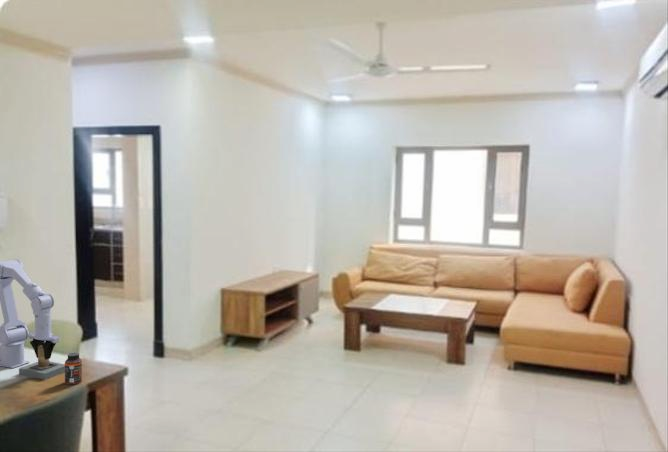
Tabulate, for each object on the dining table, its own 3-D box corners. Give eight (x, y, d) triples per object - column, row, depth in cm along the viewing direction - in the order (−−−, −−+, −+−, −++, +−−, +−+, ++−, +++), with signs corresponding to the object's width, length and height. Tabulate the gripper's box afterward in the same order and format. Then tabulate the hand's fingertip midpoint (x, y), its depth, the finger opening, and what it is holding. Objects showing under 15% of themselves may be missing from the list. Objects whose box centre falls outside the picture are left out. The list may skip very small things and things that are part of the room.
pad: (34, 370, 214) (34, 368, 214) (44, 366, 219) (44, 364, 219) (43, 371, 213) (43, 370, 213) (53, 368, 217) (53, 366, 217)
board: (19, 374, 213) (18, 367, 213) (42, 365, 224) (42, 359, 223) (45, 379, 208) (44, 372, 208) (68, 370, 219) (67, 364, 218)
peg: (35, 366, 215) (35, 347, 214) (44, 363, 218) (43, 344, 218) (43, 367, 213) (42, 348, 212) (51, 364, 217) (51, 345, 216)
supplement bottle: (75, 386, 203) (74, 357, 202) (61, 384, 204) (61, 355, 203) (85, 380, 209) (85, 352, 208) (72, 379, 210) (71, 351, 209)
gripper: (64, 324, 215) (65, 357, 217) (38, 320, 221) (38, 352, 222) (49, 329, 209) (50, 362, 210) (23, 324, 214) (23, 357, 215)
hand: (43, 357), depth 215 cm, fingers closed on peg, 4 cm apart
